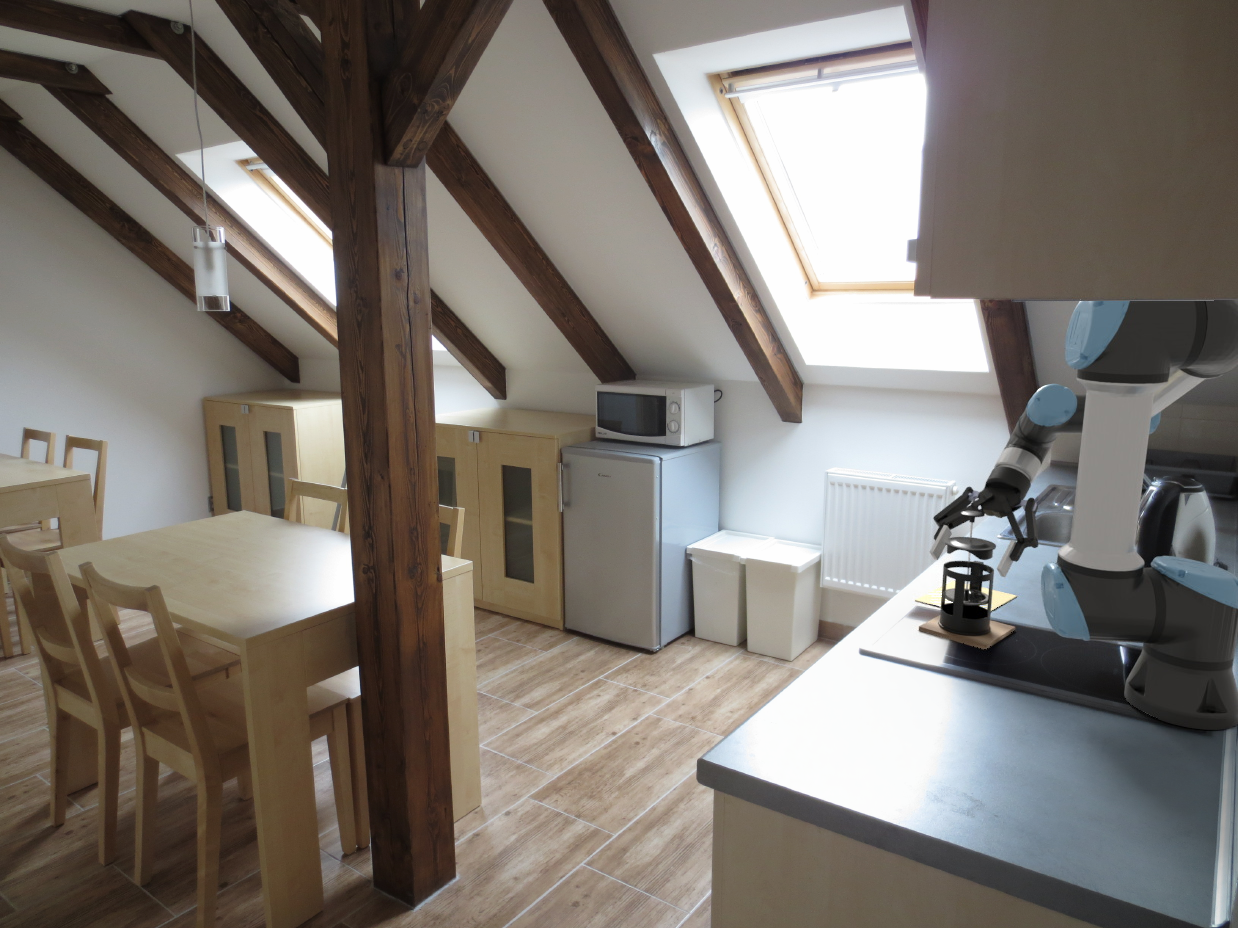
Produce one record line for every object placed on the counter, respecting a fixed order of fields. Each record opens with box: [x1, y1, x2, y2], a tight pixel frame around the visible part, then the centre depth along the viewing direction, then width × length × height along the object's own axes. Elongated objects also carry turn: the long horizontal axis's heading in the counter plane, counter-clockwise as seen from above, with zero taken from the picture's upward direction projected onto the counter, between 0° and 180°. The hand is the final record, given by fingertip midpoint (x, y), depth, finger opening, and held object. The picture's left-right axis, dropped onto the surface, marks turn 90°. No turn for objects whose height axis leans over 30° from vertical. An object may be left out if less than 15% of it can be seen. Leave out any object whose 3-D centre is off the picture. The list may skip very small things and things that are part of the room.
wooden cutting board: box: [918, 614, 1016, 650], centre depth 160 cm, size 13×13×1 cm
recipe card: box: [914, 579, 1018, 612], centre depth 178 cm, size 18×14×1 cm
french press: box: [938, 511, 997, 636], centre depth 158 cm, size 12×9×23 cm
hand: (966, 564), depth 157 cm, fingers open, 13 cm apart
